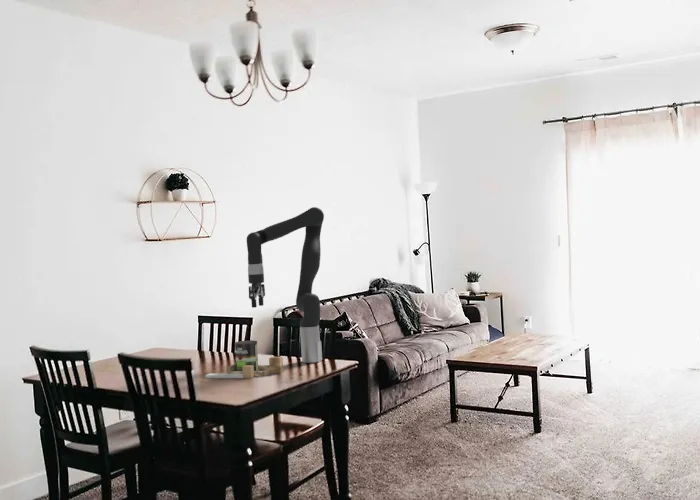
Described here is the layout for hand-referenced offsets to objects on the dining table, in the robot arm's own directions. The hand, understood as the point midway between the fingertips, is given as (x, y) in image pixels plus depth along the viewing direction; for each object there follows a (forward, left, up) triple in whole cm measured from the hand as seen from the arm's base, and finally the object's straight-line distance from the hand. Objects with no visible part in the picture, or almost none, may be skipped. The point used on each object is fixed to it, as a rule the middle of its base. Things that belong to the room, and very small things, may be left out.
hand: (257, 306), depth 325 cm
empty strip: (+2, +31, -28) cm, 42 cm away
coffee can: (-2, +21, -28) cm, 35 cm away
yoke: (-7, +21, -28) cm, 36 cm away
